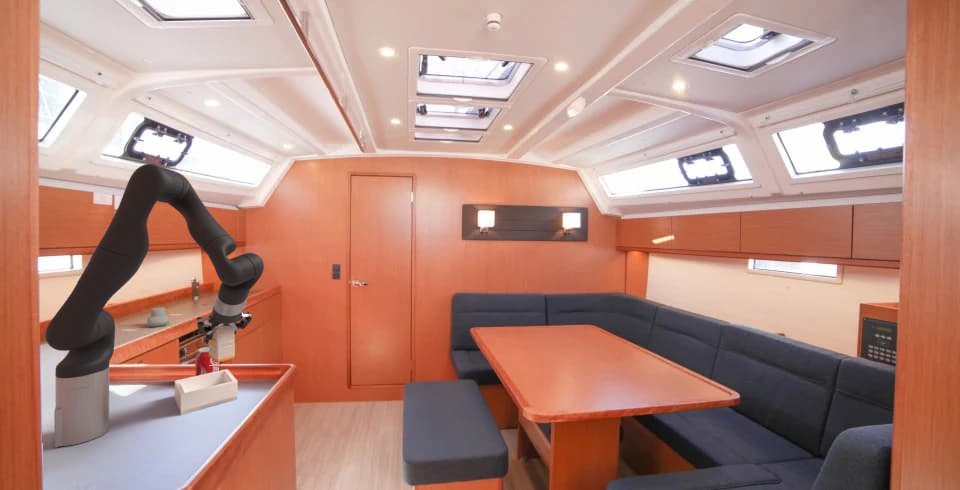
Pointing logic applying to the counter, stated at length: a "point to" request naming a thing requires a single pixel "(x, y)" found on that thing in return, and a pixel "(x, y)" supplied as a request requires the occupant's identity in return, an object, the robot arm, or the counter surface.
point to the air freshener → (158, 317)
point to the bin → (205, 391)
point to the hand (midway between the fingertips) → (220, 335)
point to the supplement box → (222, 344)
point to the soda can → (205, 362)
